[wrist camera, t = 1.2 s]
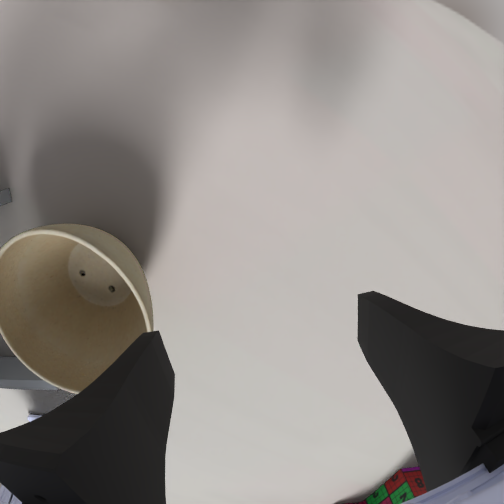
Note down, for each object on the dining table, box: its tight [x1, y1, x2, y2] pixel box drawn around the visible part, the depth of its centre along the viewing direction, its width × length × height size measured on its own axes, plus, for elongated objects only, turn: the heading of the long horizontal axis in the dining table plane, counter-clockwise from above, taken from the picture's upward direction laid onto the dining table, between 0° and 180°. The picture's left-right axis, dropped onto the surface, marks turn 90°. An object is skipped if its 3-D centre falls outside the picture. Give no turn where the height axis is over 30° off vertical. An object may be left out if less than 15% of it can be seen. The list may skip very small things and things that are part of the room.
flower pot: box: [0, 224, 153, 394], centre depth 17 cm, size 10×10×7 cm
